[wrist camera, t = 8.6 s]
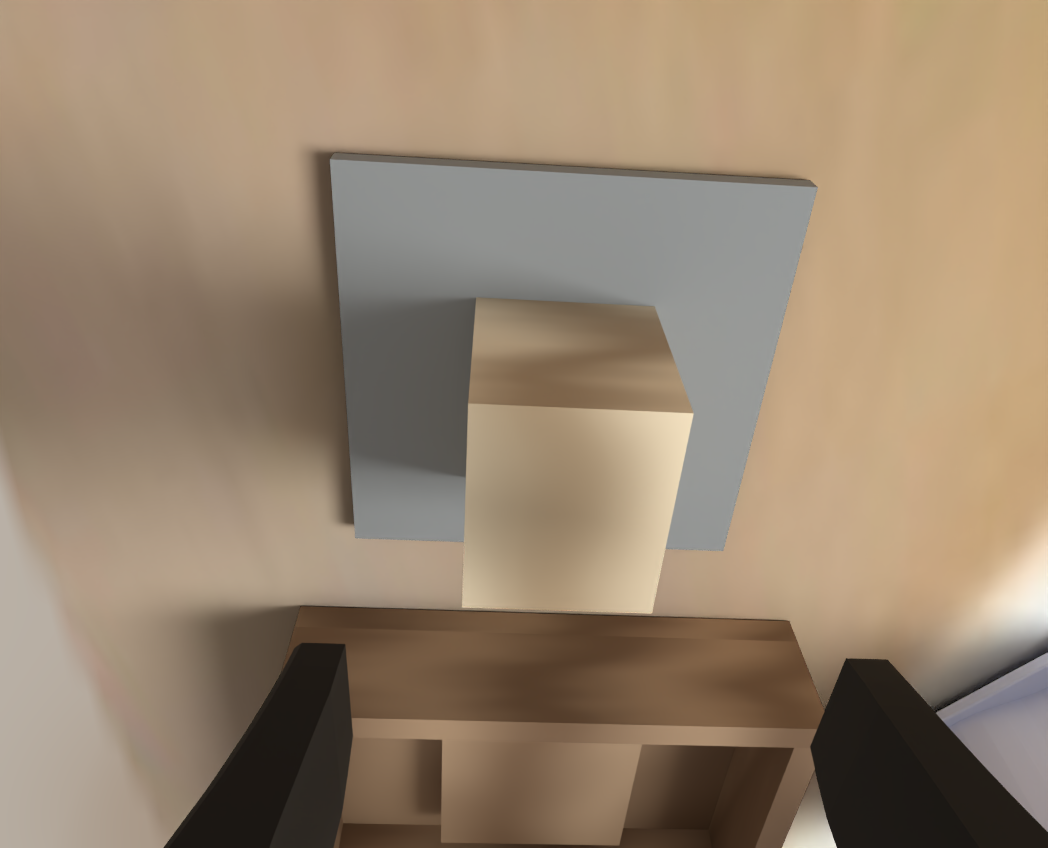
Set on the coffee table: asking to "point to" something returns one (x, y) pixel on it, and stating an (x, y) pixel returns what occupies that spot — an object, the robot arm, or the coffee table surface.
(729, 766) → the walnut crate
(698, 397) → the slate mat
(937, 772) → the robot arm
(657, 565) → the maple block
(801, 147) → the coffee table surface
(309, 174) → the coffee table surface
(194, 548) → the coffee table surface
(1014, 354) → the coffee table surface
